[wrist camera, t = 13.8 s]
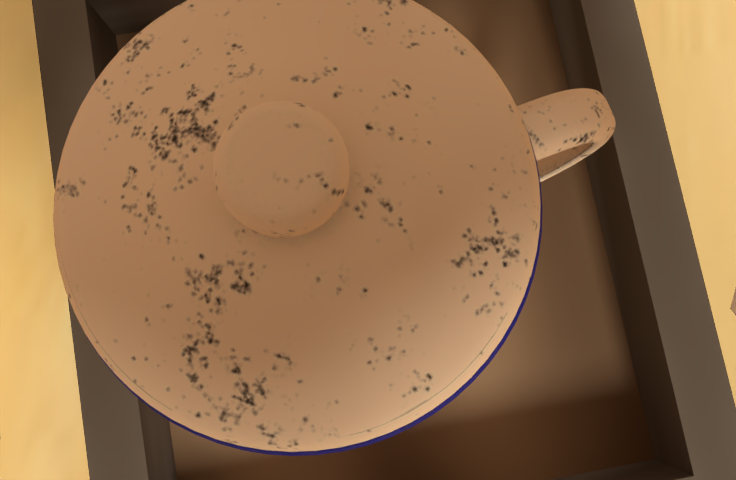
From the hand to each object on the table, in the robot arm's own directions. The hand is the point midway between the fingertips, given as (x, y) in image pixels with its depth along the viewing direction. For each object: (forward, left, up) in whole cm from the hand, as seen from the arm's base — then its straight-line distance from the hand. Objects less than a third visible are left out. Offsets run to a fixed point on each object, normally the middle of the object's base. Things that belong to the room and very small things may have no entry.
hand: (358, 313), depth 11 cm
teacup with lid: (-1, -2, -10) cm, 10 cm away
